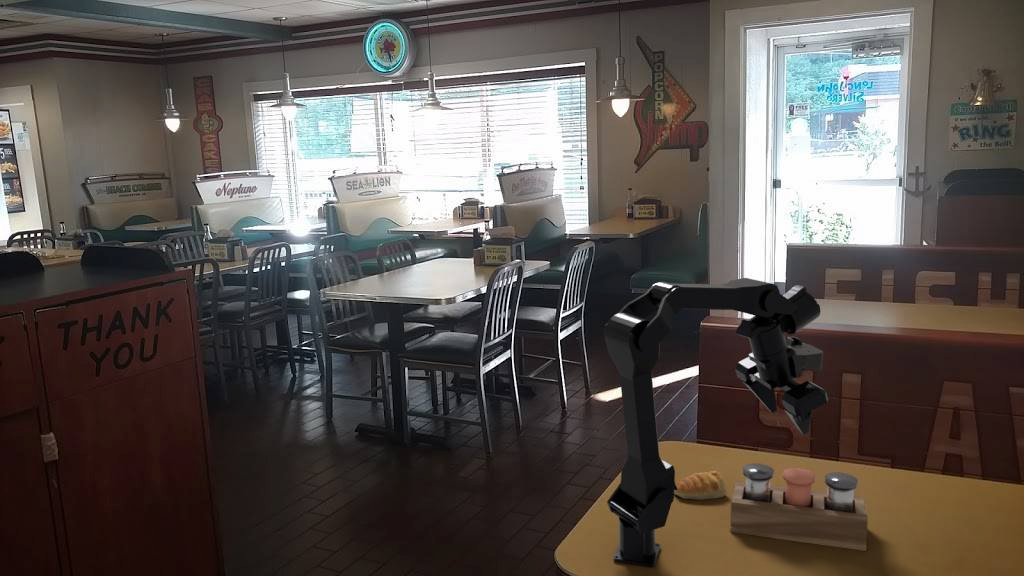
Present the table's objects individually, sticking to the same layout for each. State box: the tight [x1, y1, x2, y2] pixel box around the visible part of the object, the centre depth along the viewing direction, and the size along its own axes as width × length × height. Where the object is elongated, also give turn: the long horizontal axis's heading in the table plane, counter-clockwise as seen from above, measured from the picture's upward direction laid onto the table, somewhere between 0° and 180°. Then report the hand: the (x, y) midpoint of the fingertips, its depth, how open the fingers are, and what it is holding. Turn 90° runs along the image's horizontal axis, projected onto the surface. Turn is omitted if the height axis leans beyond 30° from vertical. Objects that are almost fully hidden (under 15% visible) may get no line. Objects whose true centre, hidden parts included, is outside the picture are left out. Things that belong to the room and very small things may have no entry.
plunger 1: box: [742, 463, 775, 503], centre depth 135 cm, size 5×5×6 cm
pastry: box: [674, 470, 727, 501], centre depth 148 cm, size 9×7×4 cm
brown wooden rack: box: [729, 481, 868, 552], centre depth 134 cm, size 9×21×5 cm, turn 70°
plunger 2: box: [824, 471, 859, 513], centre depth 131 cm, size 5×5×6 cm
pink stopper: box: [782, 467, 816, 508], centre depth 133 cm, size 5×5×6 cm
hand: (789, 422), depth 140 cm, fingers open, 9 cm apart
